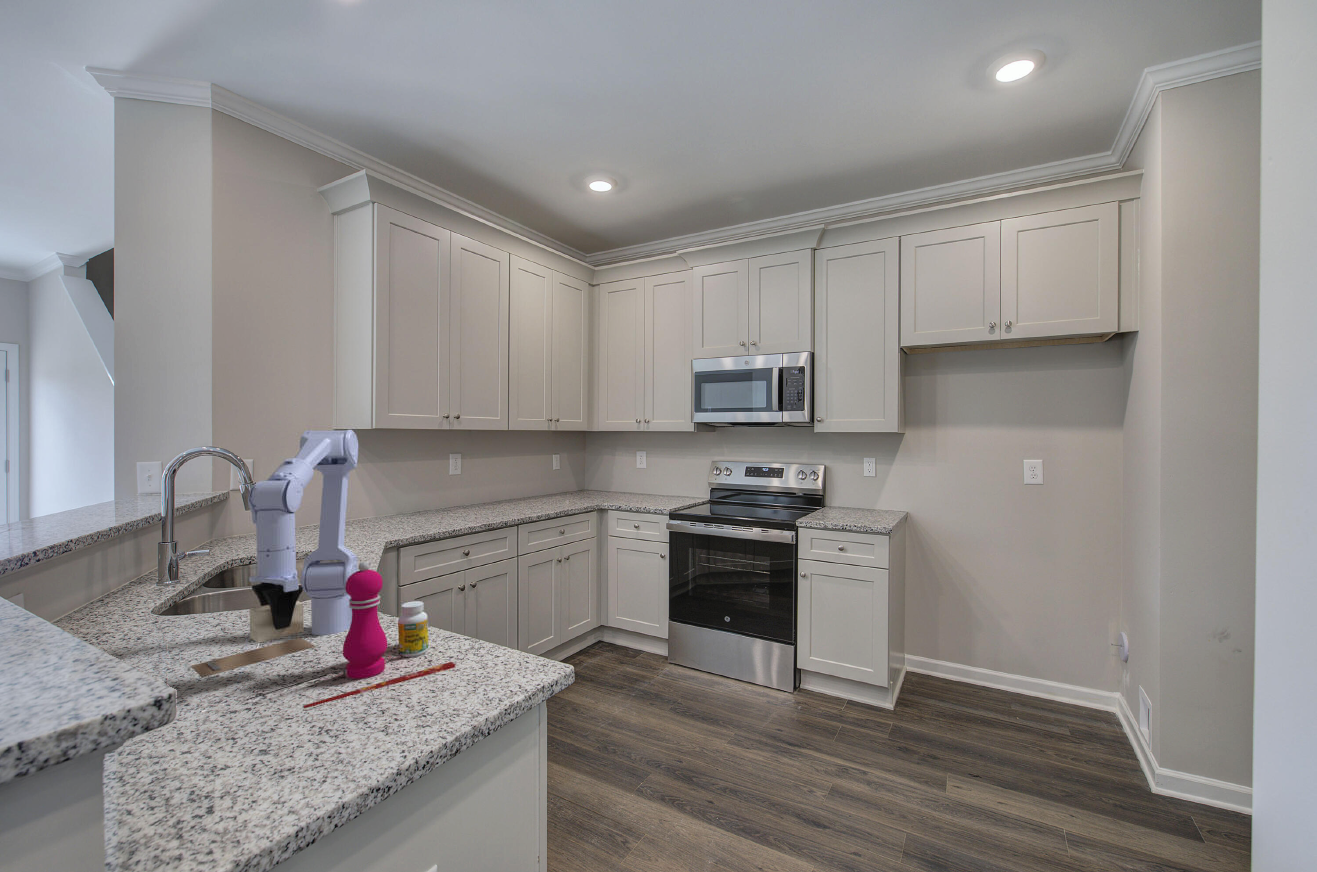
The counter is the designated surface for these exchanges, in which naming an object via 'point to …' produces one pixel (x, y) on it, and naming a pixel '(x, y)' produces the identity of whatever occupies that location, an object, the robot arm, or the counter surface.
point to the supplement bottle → (413, 630)
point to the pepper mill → (364, 625)
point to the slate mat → (286, 687)
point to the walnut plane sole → (251, 657)
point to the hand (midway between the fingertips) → (277, 625)
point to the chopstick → (389, 682)
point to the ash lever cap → (265, 628)
